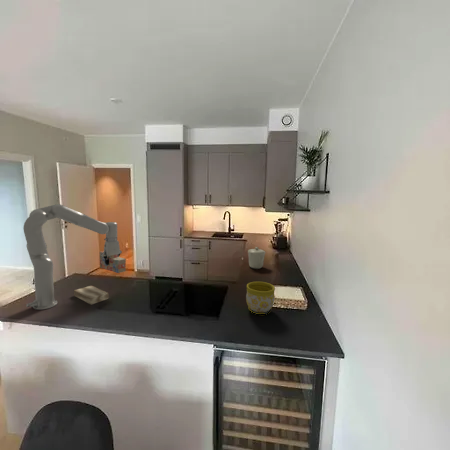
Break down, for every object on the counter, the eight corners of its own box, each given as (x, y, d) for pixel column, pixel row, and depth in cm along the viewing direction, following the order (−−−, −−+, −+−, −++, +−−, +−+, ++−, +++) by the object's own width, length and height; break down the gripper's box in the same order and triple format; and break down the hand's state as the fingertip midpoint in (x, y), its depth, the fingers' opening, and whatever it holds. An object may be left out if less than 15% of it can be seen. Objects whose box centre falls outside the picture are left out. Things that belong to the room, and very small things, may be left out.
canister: (257, 271, 249) (259, 249, 246) (243, 267, 261) (244, 246, 258) (268, 267, 262) (269, 247, 259) (253, 263, 274) (254, 244, 271)
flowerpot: (253, 319, 154) (255, 293, 152) (240, 306, 170) (241, 282, 168) (279, 315, 161) (280, 289, 158) (264, 303, 177) (265, 280, 175)
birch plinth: (91, 304, 165) (91, 298, 165) (74, 295, 177) (73, 290, 177) (108, 298, 175) (108, 293, 174) (91, 290, 187) (91, 285, 187)
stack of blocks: (125, 271, 184) (126, 254, 182) (118, 273, 178) (118, 256, 177) (107, 265, 195) (107, 250, 193) (99, 267, 189) (99, 251, 188)
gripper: (103, 241, 175) (103, 267, 177) (125, 238, 189) (125, 262, 191) (97, 240, 179) (97, 265, 181) (119, 237, 194) (119, 260, 196)
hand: (111, 263), depth 186 cm, fingers closed on stack of blocks, 6 cm apart
